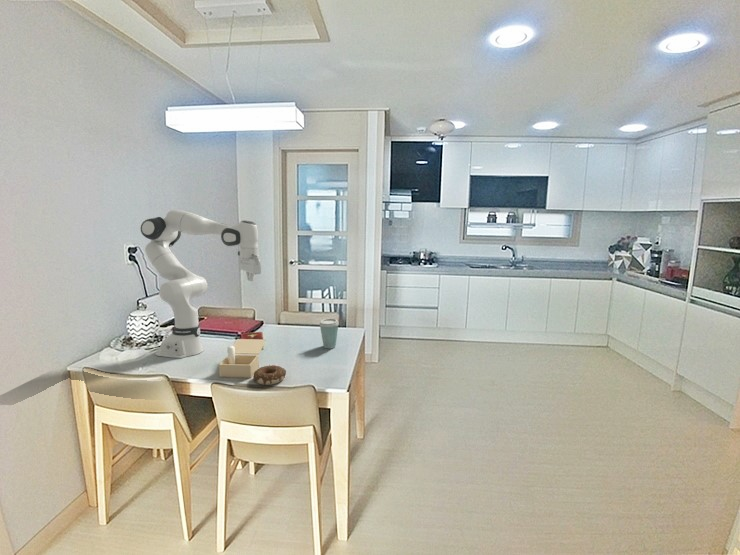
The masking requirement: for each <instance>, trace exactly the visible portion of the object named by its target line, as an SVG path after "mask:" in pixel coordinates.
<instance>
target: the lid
mask: <svg viewBox="0 0 740 555" xmlns="http://www.w3.org/2000/svg"><path fill="white" fill-rule="evenodd" d="M265 343H266V339H264V340H262V339H241V338H237V339H236V340H235V342H234V344H233V345H232V346H234V347H235V355H260V354H261V351H263V350H262V347H263V348H264V345H265Z"/></svg>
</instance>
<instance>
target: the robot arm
mask: <svg viewBox="0 0 740 555" xmlns="http://www.w3.org/2000/svg"><path fill="white" fill-rule="evenodd" d="M140 233H141V234H142V236H144V237H145V238H146V239H148V240H150V242H148V243H147V244H146V246H144V251H145V253H146V256H147V258H148V259H149V261H150V263H151V265H152V266H153V267H154V268H155V270H156V271H157V273H158V274H159V276H160V277H161V278H163V279H165V280H168V281H166V282H164V283H163V284H161V285H160V287H159V290H158V293H159V296H160V298H161V300H163V302H165V303H166V304H168V305H169V306H170V308H171V310H172V312H173V317H174V318H173V319H174V326H172V327H171V328H170V329H169V330H170V332H172V333H171V334H169V335H168V336H167V337H166V338H164V339H163V340H162V341H161V343H160V348H159V349H158V350H157V351H156V352H155V356H156V357H157V356H158V357H166V358H174V359H183V358H186V357H190V356H192V357H193V356H196V355H198V354H201V353H203V351H204V347H203V344H202V340H201V327H200V323H199V310H198V309H197V308H196V307H195V306H192V305H191V304H190V299H193V298H198V297H200V296H201V295H203V294H205V293H207V291H208V286H209V285H208V282H207V281H208V280H206V278H205V277H203V276H201V275H197V274H195V273H194V272H192V271H190V270H189V269H187V268H186V267H185V266H184V265H183V264H182V263H181V262H180V260H178V257H176V256H175V255H174V253H173V251H171V249H170V247H174V245H175V244H176V243H177V242H178V241H179V240H180V238H181V236H182V233H184V234H187V235H193V236H203V235H204V236H205V235H218V236H220V239H221V241H222V243H223V244H224V245H225V246H227V247H238V246H239V250H237V257H238V267H239V269H240V270H242V271H245V275H246V277H247V278H246V279H247V281H249V282H253V281H254V276H255V275H261V273H262V266H261V265H262V264H261V259H260V258H259V257H260V255H259V254H260V253H259V251H260V250H259V244H258V243H259V242H258V241H259V231H258V225H257V223H255V222H254V221H250V220H241V221H239V223H236V224H235V225H230V224H226V223H223V222H220V221H219V222H218V221H215V220H213V219H210V218H207V217H204V216H202V215H200V214H197V213H194V212H191V211H187V210H182V209H171V210H169V211H168V212H166V215H165V217H161V216H157V217H152V218H147V219H145V220H144V221H142V223H141V225H140Z"/></svg>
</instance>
